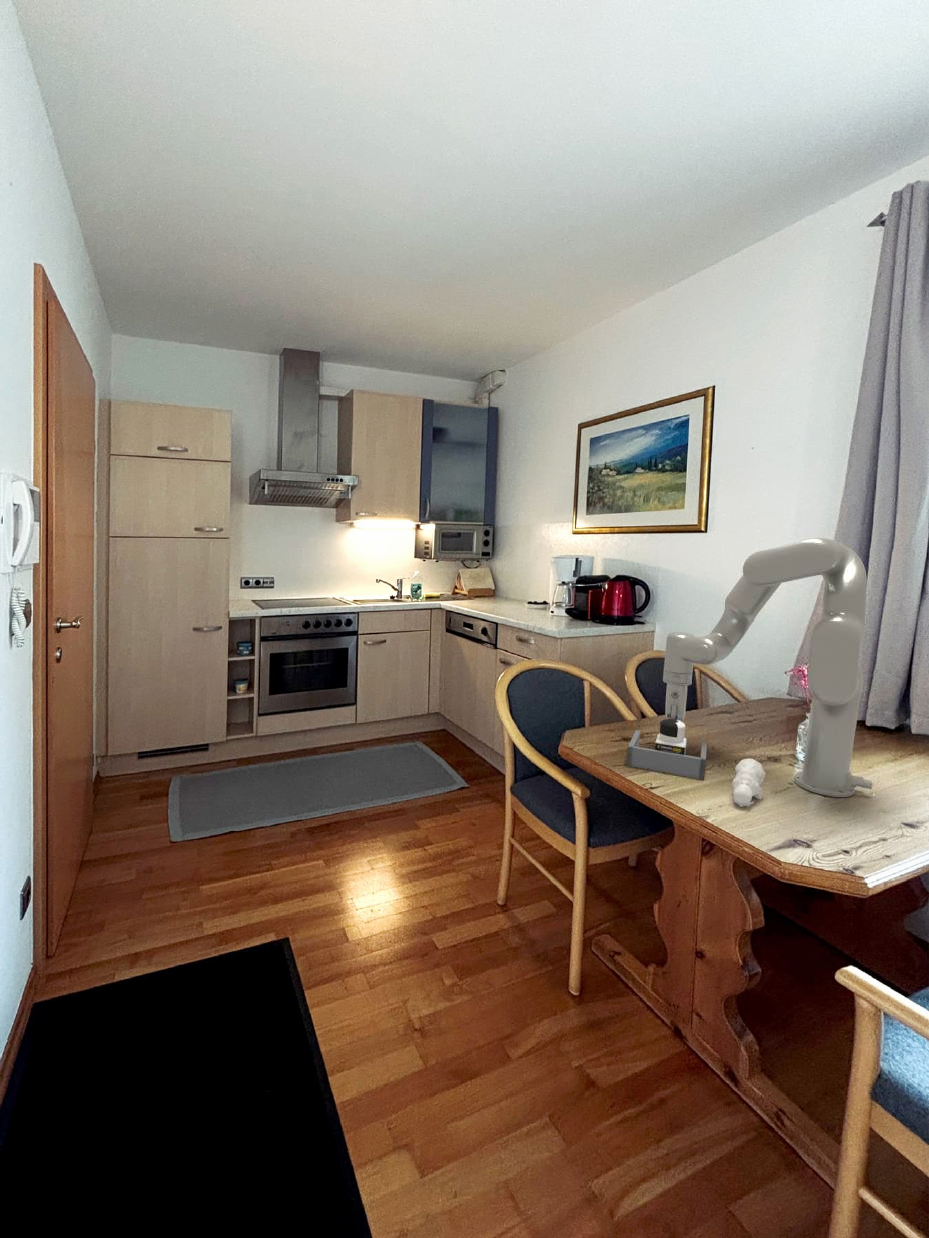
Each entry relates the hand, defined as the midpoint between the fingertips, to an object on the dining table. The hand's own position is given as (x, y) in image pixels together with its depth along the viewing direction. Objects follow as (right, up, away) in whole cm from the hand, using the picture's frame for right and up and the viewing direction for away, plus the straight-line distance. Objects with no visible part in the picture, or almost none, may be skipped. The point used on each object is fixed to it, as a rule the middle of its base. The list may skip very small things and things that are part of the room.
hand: (671, 740), depth 169 cm
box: (-5, -3, -12) cm, 13 cm away
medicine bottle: (-6, -4, -15) cm, 16 cm away
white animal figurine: (+5, -7, -33) cm, 34 cm away
